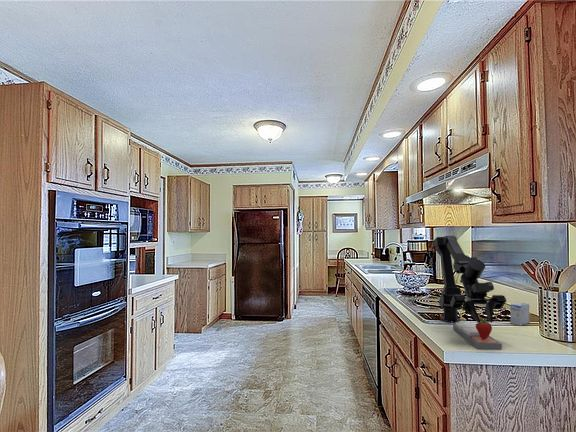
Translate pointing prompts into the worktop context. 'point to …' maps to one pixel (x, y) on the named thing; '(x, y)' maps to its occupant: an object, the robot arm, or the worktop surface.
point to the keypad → (470, 330)
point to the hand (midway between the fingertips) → (485, 321)
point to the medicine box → (519, 313)
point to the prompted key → (483, 340)
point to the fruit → (484, 328)
